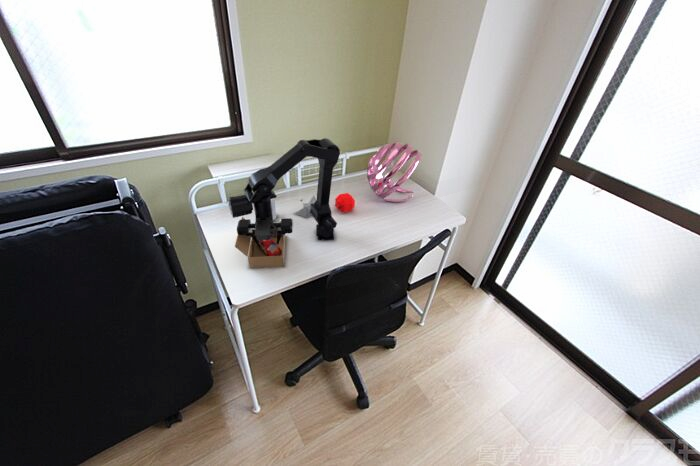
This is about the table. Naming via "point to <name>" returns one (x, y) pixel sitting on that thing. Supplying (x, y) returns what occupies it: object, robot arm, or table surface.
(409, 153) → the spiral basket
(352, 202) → the ball
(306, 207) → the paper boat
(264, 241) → the race car
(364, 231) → the table surface
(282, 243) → the carton
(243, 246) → the flap
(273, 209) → the can
